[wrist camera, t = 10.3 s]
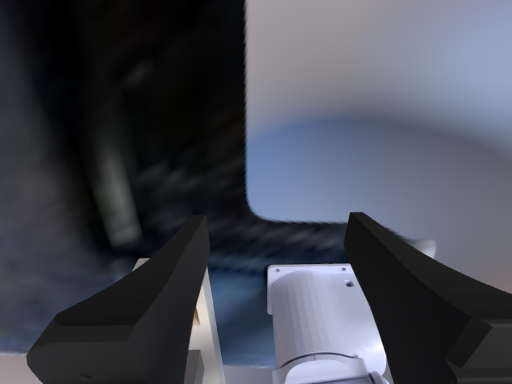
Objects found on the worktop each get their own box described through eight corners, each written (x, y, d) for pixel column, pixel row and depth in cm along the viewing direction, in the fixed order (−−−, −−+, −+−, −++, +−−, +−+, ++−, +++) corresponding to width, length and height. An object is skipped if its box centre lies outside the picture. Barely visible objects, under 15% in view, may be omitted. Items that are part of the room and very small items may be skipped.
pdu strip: (205, 257, 26) (191, 320, 20) (226, 385, 40) (221, 445, 34) (139, 258, 26) (104, 321, 20) (182, 386, 40) (169, 446, 34)
